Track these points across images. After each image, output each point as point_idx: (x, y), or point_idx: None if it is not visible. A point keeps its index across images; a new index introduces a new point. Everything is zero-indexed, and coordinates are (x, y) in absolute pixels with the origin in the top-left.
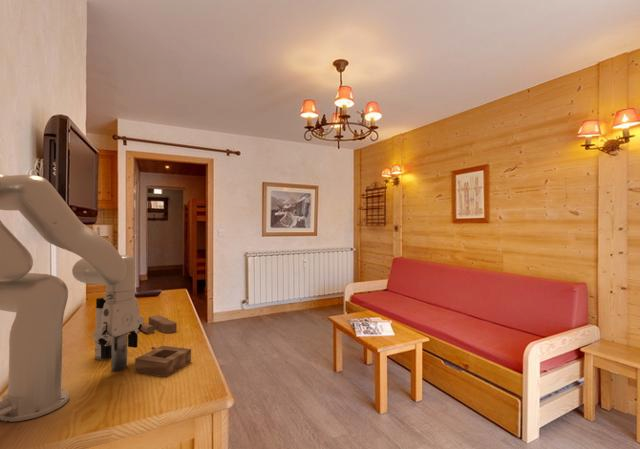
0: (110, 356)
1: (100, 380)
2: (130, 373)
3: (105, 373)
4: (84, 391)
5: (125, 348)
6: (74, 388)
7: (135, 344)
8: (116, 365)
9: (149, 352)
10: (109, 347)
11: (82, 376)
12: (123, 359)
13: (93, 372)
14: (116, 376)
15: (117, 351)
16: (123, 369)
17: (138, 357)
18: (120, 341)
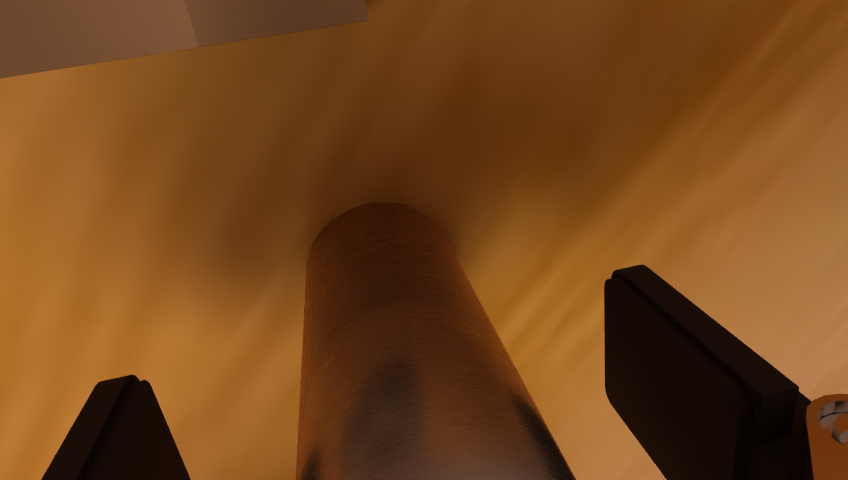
0: (643, 279)
1: (634, 171)
2: (404, 36)
3: (511, 280)
4: (835, 77)
5: (382, 339)
6: (800, 216)
7: (126, 409)
8: (455, 256)
9: (36, 42)
10: (765, 371)
11: None
12: (398, 251)
13: (535, 385)
14: (519, 113)
15: (503, 347)
16: (381, 203)
17: (310, 11)
18: (530, 454)
